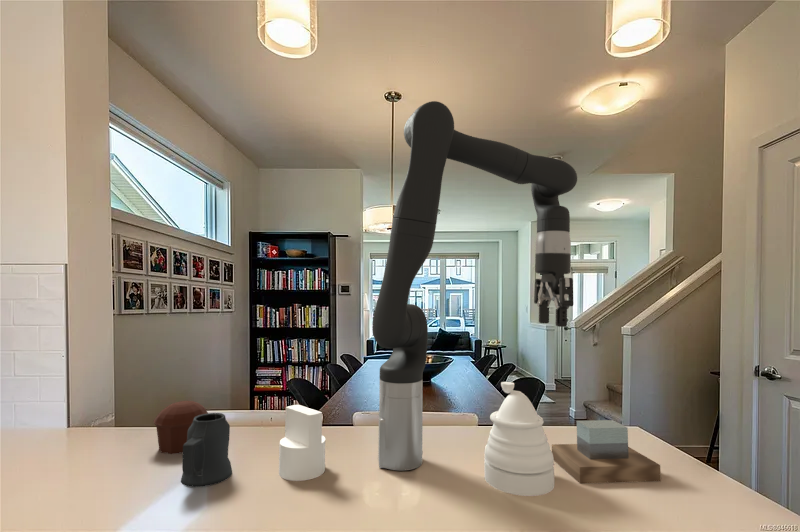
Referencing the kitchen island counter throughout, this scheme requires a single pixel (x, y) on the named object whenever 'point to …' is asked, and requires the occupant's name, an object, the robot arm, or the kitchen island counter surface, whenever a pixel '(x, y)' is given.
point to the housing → (602, 439)
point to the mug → (206, 451)
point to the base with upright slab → (302, 445)
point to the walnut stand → (605, 466)
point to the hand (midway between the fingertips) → (552, 324)
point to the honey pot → (518, 448)
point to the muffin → (176, 425)
